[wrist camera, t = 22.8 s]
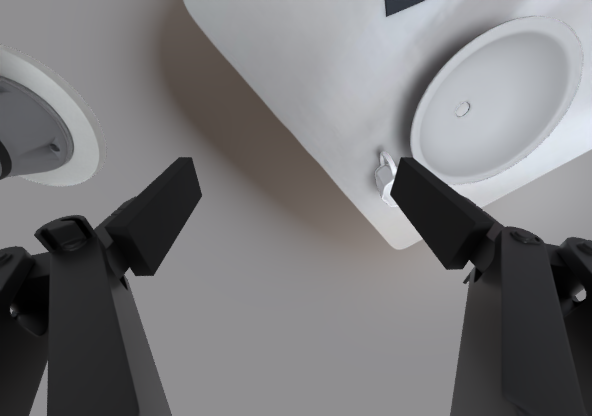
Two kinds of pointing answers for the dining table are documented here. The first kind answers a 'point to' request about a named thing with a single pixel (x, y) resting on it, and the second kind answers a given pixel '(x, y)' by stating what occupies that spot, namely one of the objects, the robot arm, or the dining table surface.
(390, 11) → the mat
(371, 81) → the dining table surface
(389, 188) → the cup
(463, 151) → the white sink basin
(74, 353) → the robot arm
